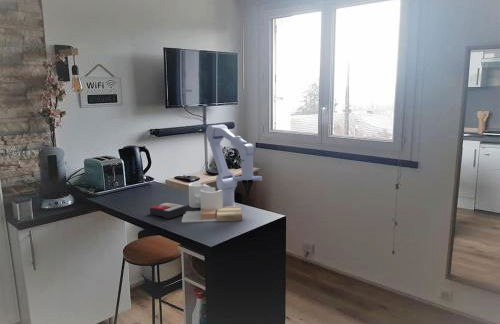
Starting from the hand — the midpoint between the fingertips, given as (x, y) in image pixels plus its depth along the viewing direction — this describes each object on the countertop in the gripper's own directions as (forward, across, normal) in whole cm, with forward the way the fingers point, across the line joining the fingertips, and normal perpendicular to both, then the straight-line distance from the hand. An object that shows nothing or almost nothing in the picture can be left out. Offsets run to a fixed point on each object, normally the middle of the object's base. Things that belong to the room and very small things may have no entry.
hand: (247, 194), depth 198 cm
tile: (+9, -20, -3) cm, 22 cm away
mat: (+9, -24, -3) cm, 26 cm away
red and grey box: (+9, -40, +3) cm, 41 cm away
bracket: (+10, -22, +10) cm, 27 cm away
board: (+9, -10, -3) cm, 14 cm away
